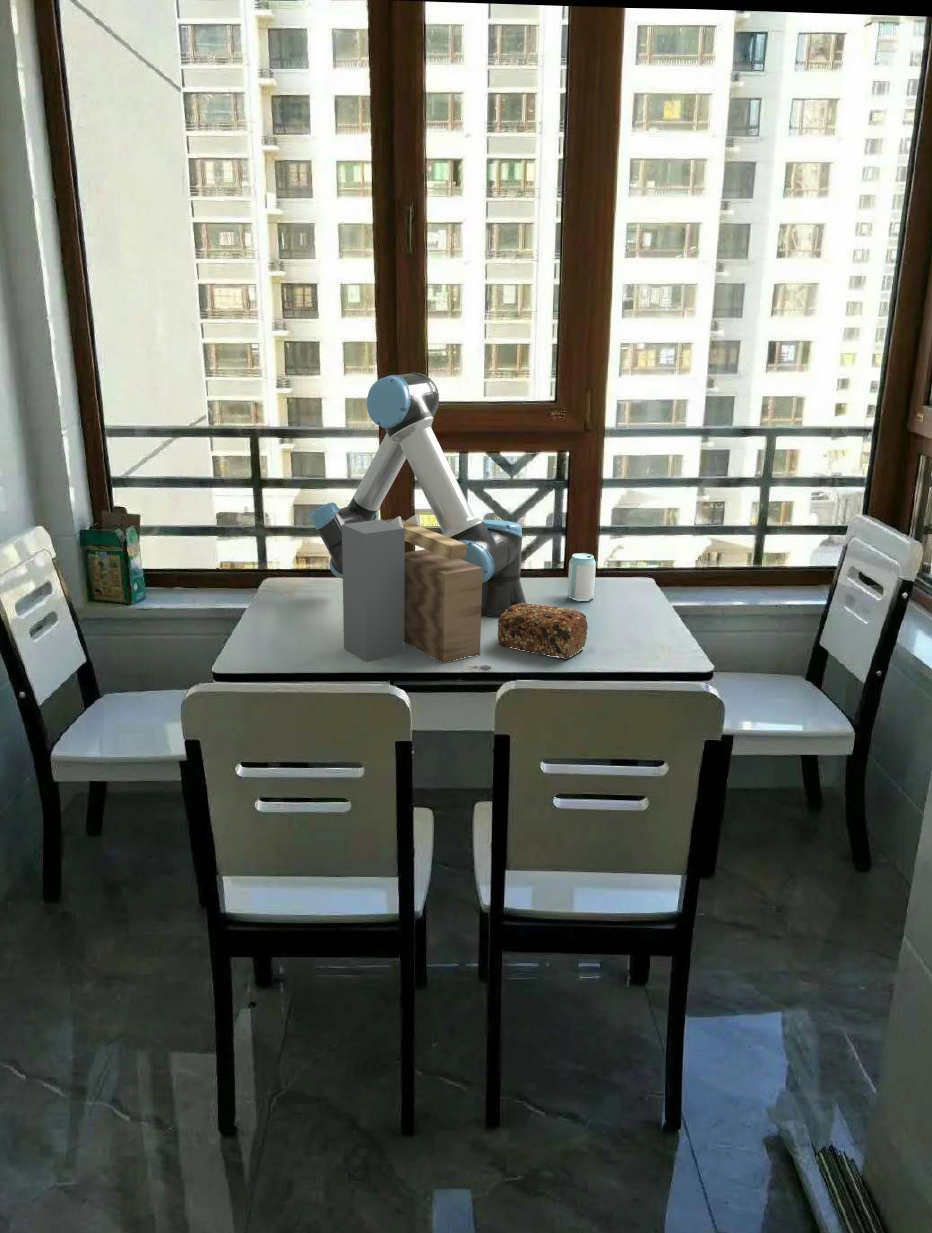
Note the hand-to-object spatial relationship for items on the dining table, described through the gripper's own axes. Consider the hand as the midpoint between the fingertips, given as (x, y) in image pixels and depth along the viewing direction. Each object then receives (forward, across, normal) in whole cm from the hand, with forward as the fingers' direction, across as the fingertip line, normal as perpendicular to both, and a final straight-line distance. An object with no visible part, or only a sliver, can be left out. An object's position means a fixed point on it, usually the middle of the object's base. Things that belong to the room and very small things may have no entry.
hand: (409, 521), depth 232 cm
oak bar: (+3, 0, -7) cm, 8 cm away
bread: (+9, -20, -37) cm, 43 cm away
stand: (-7, +14, -27) cm, 31 cm away
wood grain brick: (-3, 0, -30) cm, 30 cm away
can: (-12, -54, -24) cm, 60 cm away
